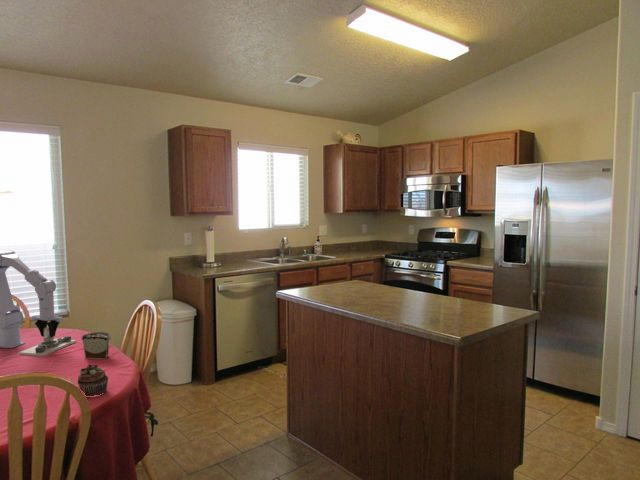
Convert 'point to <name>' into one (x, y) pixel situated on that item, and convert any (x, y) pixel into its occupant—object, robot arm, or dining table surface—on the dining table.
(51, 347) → the shaft board
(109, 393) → the dining table surface
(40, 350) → the shaft
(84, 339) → the food container
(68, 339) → the shaft
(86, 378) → the cupcake
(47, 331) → the coupler
